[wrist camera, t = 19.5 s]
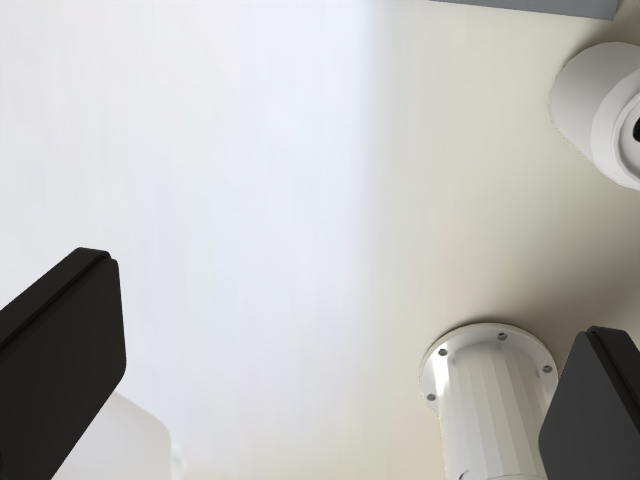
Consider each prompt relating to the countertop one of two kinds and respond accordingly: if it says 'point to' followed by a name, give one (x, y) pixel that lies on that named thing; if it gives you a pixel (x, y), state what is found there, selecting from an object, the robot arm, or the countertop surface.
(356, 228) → the countertop surface
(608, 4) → the mat
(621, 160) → the can
